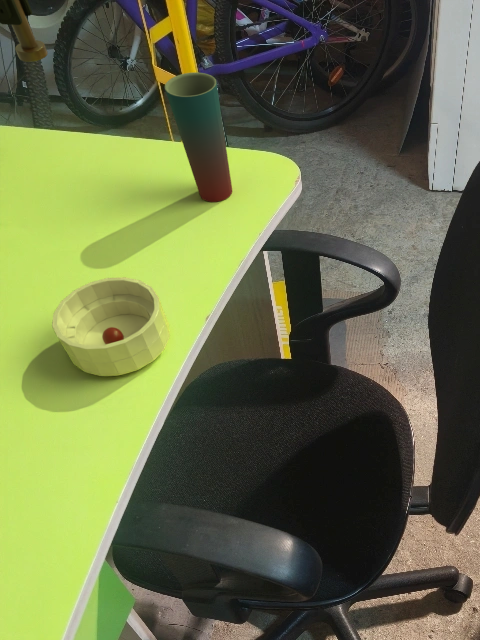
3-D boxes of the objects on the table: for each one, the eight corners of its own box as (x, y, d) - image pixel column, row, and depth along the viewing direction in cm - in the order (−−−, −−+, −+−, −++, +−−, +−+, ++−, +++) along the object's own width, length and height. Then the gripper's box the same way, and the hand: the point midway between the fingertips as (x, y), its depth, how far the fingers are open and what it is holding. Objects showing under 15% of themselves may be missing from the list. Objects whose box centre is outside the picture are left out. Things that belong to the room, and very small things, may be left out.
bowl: (54, 375, 70) (34, 344, 65) (93, 305, 76) (77, 273, 72) (152, 384, 68) (138, 353, 64) (183, 312, 75) (172, 280, 71)
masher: (14, 61, 83) (-27, -28, 75) (27, 48, 85) (-11, -40, 77) (40, 62, 83) (2, -27, 74) (52, 50, 85) (17, -39, 76)
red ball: (103, 329, 68) (116, 347, 69) (118, 320, 70) (131, 338, 71) (94, 336, 70) (108, 353, 71) (109, 328, 71) (122, 344, 72)
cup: (185, 200, 89) (154, 91, 76) (208, 176, 92) (182, 69, 79) (224, 209, 87) (199, 100, 75) (246, 185, 91) (225, 77, 78)
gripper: (-62, -196, 69) (17, -5, 85) (-143, -163, 61) (-38, 43, 76) (-3, -196, 69) (66, -3, 84) (-77, -162, 60) (15, 45, 76)
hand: (16, 17), depth 80 cm, fingers closed on masher, 2 cm apart
